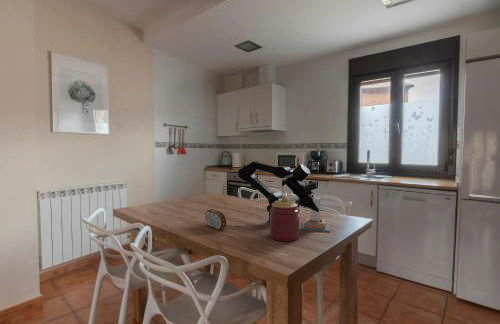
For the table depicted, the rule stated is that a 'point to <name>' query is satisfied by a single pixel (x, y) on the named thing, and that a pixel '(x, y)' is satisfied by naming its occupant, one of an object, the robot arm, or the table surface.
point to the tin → (215, 219)
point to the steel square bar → (315, 215)
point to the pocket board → (315, 225)
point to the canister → (284, 220)
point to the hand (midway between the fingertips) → (318, 210)
